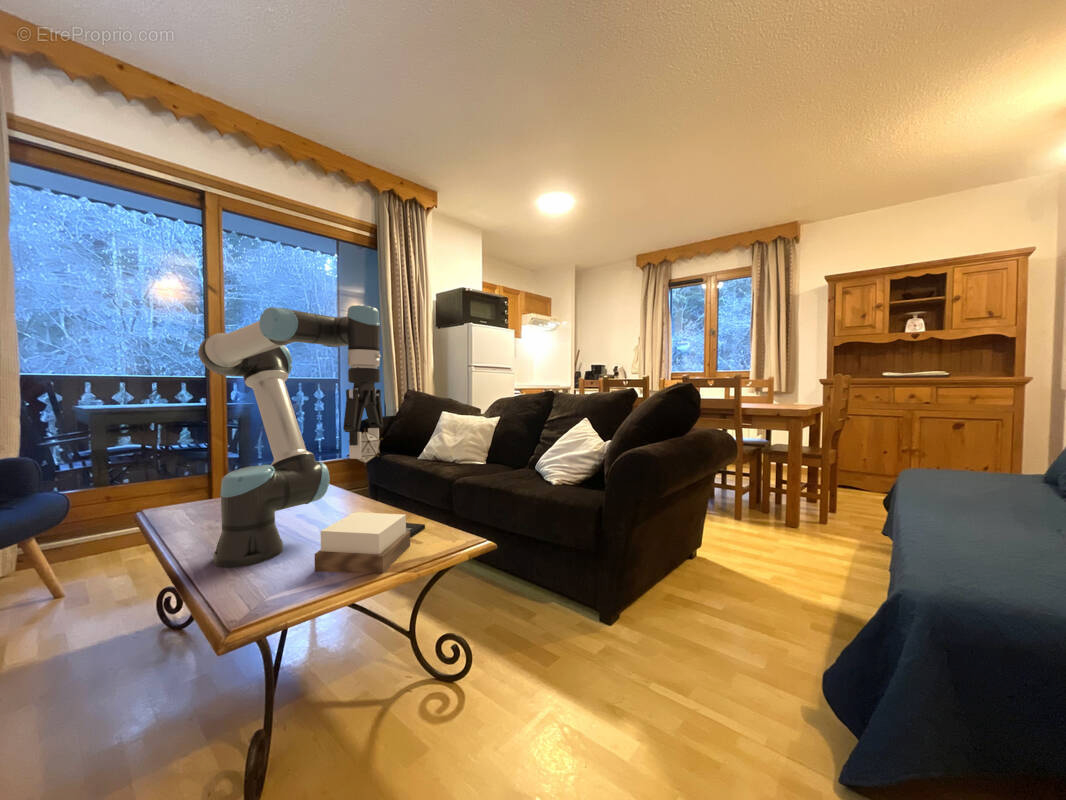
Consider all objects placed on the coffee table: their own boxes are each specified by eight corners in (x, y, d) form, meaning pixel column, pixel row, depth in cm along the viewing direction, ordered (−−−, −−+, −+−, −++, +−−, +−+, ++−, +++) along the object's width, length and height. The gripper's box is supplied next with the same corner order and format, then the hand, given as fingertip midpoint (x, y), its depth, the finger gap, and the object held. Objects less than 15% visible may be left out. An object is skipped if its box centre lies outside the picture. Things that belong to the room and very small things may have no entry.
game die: (374, 470, 102) (374, 429, 102) (340, 469, 102) (340, 429, 102) (388, 463, 111) (387, 426, 111) (356, 463, 111) (356, 426, 111)
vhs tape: (376, 545, 117) (375, 538, 117) (403, 528, 131) (403, 522, 131) (399, 548, 115) (399, 541, 115) (425, 530, 129) (424, 524, 129)
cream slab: (320, 551, 101) (320, 530, 100) (354, 529, 116) (354, 512, 115) (379, 554, 99) (379, 533, 99) (405, 532, 114) (405, 514, 114)
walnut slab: (314, 574, 99) (314, 553, 99) (351, 547, 116) (351, 529, 116) (383, 577, 98) (382, 556, 98) (410, 549, 115) (410, 531, 115)
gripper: (357, 365, 95) (357, 463, 95) (395, 369, 116) (396, 449, 117) (325, 365, 95) (326, 462, 96) (370, 369, 117) (370, 448, 117)
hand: (364, 455), depth 106 cm, fingers closed on game die, 9 cm apart
